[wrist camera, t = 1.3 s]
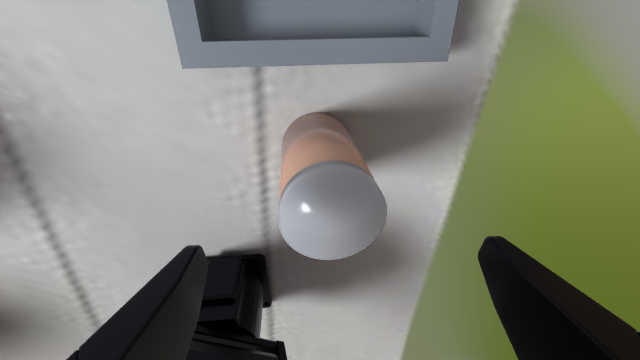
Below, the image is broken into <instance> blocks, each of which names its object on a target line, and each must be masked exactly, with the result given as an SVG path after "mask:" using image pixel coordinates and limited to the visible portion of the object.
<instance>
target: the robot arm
mask: <svg viewBox="0 0 640 360" xmlns="http://www.w3.org/2000/svg"><path fill="white" fill-rule="evenodd" d="M259 260H261V261H259ZM478 260H479V263H480V266H481V269H482V272H483V275H484V278H485V281H486V284H487V287H488V290H489V293H490V296H491V299H492V301H493V304H494V307H495V309H496V311H497V314H498V316H499V318H500V320H501V322H502V325H503V327H504V329H505V331H506V333H507V336H508V338H509V340H510V342H511V344H512V346H513V349H514V351H515V353H516V355H517V357H518V360H640V332H637V331H636V329H634V328H633V327H631V326H630V325H629V324H627V323H626V322H624V321H623V320H622V319H620V318H619V317H617V316H616V315H614V314H613V313H611V312H610V311H608V310H607V309H605V308H604V307H603V306H601V305H600V304H598V303H597V302H595V301H594V300H593V299H591V298H590V297H588V296H587V295H585V294H584V293H582V292H581V291H580V290H578V289H577V288H575V287H574V286H572V285H571V284H570V283H568V282H567V281H565V280H564V279H562V278H561V277H559V276H558V275H557V274H555V273H553V272H552V271H550V270H549V269H548V268H546V267H545V266H543V265H542V264H541V263H539V262H538V261H536V260H535V259H533V258H532V257H531V256H529V255H528V254H526V253H525V252H523V251H522V250H520V249H519V248H518V247H516V246H515V245H513V244H512V243H510V242H509V241H507V240H506V239H505V238H503V237H501V236H488V237H487V238H485V240H484V242H483V244H482V246H481V248H480V250H479V253H478ZM271 304H272V298H271V291H270V284H269V277H268V270H267V263H266V257H265V256H264V255H262V254H257V255H245V256H232V257H219V258H206V256H205V253H204V251H203V248H202V247H201V246H200V245H189V246H186V247H185V248H184V249H183V250H182V251H181V252H180V253H178V254H177V255H176V256H175V257H174V258H173V259H172V260H171V261H170V262H169V263H168V264H167V265H166V266H165V267H164V268H163V269H162V270H161V271H159V272H158V273H157V274H156V275H155V276H154V277H153V278H152V279H151V280H150V281H149V282H148V283H147V284H146V285H145V286H144V287H143V288H142V289H140V290H139V291H138V292H137V293H136V294H135V295H134V296H133V297H132V298H131V299H130V300H129V301H128V302H127V303H126V304H125V305H124V306H123V307H121V308H120V309H119V310H118V311H117V312H116V313H115V314H114V315H113V316H112V317H111V318H110V319H109V320H108V321H107V322H106V323H105V324H104V325H102V326H101V327H100V328H99V329H98V330H97V331H96V332H95V333H94V334H93V335H92V336H91V337H90V338H89V339H88V340H87V341H86V342H85V343H83V344H82V345H81V346H80V347H79V350H76V351H75V352H74V353H73V354H72V355H71V356H70V357H69V358H67V359H66V360H287V356H286V351H285V345H284V342H282V341H271V340H266V339H262V338H260V330H261V319H262V308H267V307H270V306H271Z"/></svg>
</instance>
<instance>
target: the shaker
mask: <svg viewBox="0 0 640 360" xmlns="http://www.w3.org/2000/svg"><path fill="white" fill-rule="evenodd" d="M386 216H387V207H386V202H385V198H384V196H383V194H382V192H381V190H380V189H379V187H378V185H377V183H376V181H375V180H374V178H373V176H372V174H371V173H370V171H369V169H368V167H367V165H366V164H365V162H364V160H363V158H362V156H361V155H360V153H359V151H358V149H357V147H356V146H355V144H354V142H353V140H352V138H351V137H350V135H349V133H348V131H347V129H346V128H345V126H344V125H343V124H342V123H341V122H340V121H339V120H338V119H336V118H335V117H333V116H331V115H328V114H324V113H310V114H306V115H304V116H301V117H299V118H298V119H296V120H295V121H294V122H293V123H292V124H291V125H290V126H289V127H288V129H287V130H286V132H285V134H284V137H283V142H282V158H281V177H280V195H279V214H278V223H279V229H280V232H281V234H282V236H283V238H284V240H285V241H286V242H287V243H288V245H289V246H290V247H292V248H293V249H294V250H295V251H297V252H299V253H300V254H302V255H305V256H307V257H310V258H314V259H319V260H336V259H342V258H346V257H349V256H352V255H354V254H356V253H358V252H360V251H362V250H364V249H365V248H366V247H368V246H369V245H370V244H371V243H372V242H373V241H374V240H375V239H376V238H377V237H378V235H379V234H380V232H381V231H382V229H383V227H384V224H385V221H386Z"/></svg>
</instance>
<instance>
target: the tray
mask: <svg viewBox="0 0 640 360" xmlns="http://www.w3.org/2000/svg"><path fill="white" fill-rule="evenodd" d="M167 3H168V8H169V12H170V16H171V21H172V25H173V29H174V34H175V38H176V42H177V47H178V51H179V55H180V60H181V64H182V69H187V68H223V67H258V66H294V65H330V64H366V63H402V62H438V61H448V57H449V51H450V46H451V41H452V35H453V30H454V24H455V19H456V13H457V8H458V3H459V0H167Z"/></svg>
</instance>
